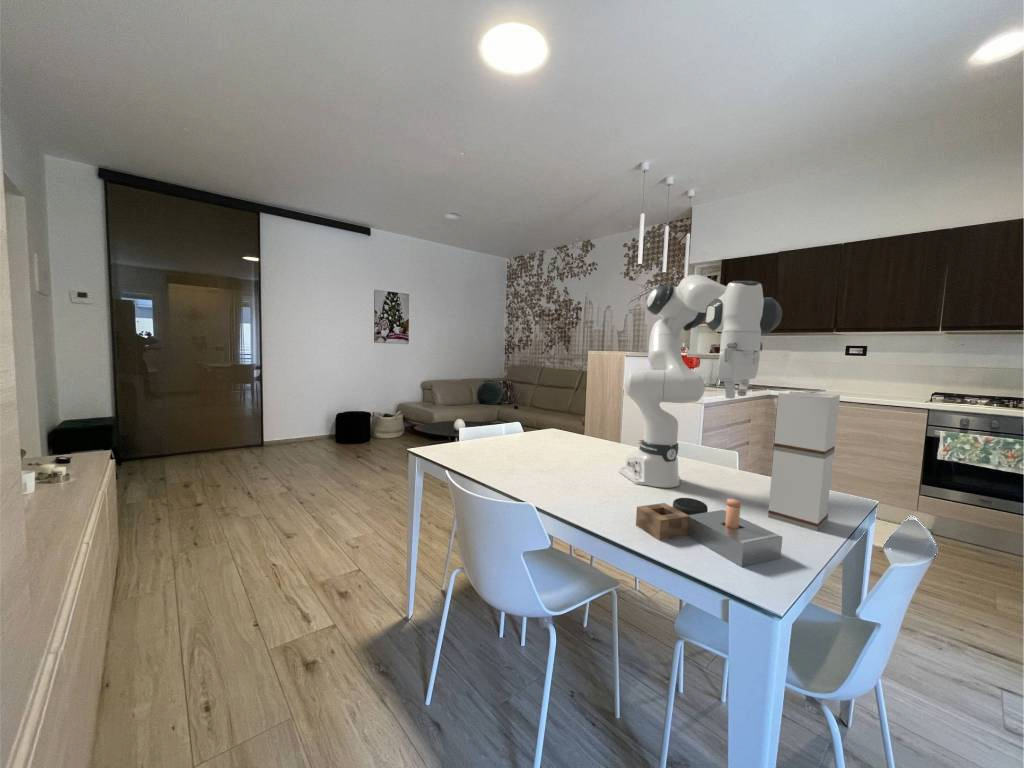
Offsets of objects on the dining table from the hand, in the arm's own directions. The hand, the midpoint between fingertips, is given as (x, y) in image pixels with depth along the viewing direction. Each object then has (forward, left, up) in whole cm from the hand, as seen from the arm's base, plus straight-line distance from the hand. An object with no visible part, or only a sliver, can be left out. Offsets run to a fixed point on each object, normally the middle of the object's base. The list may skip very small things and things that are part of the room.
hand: (736, 397), depth 108 cm
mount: (-2, -20, -34) cm, 40 cm away
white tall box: (+4, +22, -34) cm, 41 cm away
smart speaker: (-7, -6, -34) cm, 36 cm away
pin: (+10, -10, -34) cm, 37 cm away
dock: (+10, -10, -34) cm, 37 cm away
